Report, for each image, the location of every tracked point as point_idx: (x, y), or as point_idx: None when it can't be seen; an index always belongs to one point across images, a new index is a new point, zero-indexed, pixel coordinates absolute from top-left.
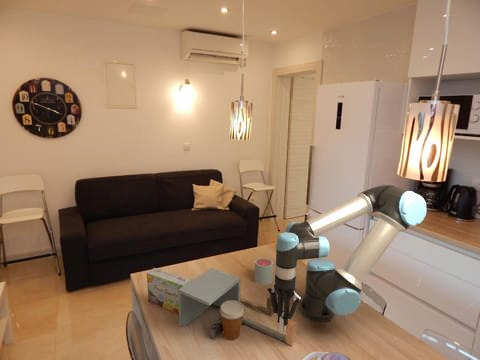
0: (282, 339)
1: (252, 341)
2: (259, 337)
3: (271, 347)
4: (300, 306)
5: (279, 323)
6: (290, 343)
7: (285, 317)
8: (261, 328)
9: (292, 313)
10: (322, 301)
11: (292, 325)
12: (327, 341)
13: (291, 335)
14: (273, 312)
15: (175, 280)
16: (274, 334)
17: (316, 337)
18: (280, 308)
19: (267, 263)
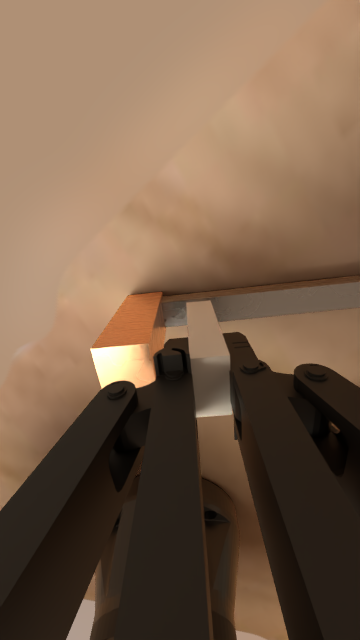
0: (185, 295)
1: (324, 176)
2: (301, 235)
3: (207, 214)
4: (226, 507)
5: (218, 326)
6: (136, 296)
7: (165, 378)
8: (323, 284)
9: (46, 458)
10: (113, 602)
11: (107, 358)
12: (40, 412)
13: (123, 315)
14: (320, 365)
15: None
16: (235, 293)
17: (84, 405)
18: (258, 447)
19: None
